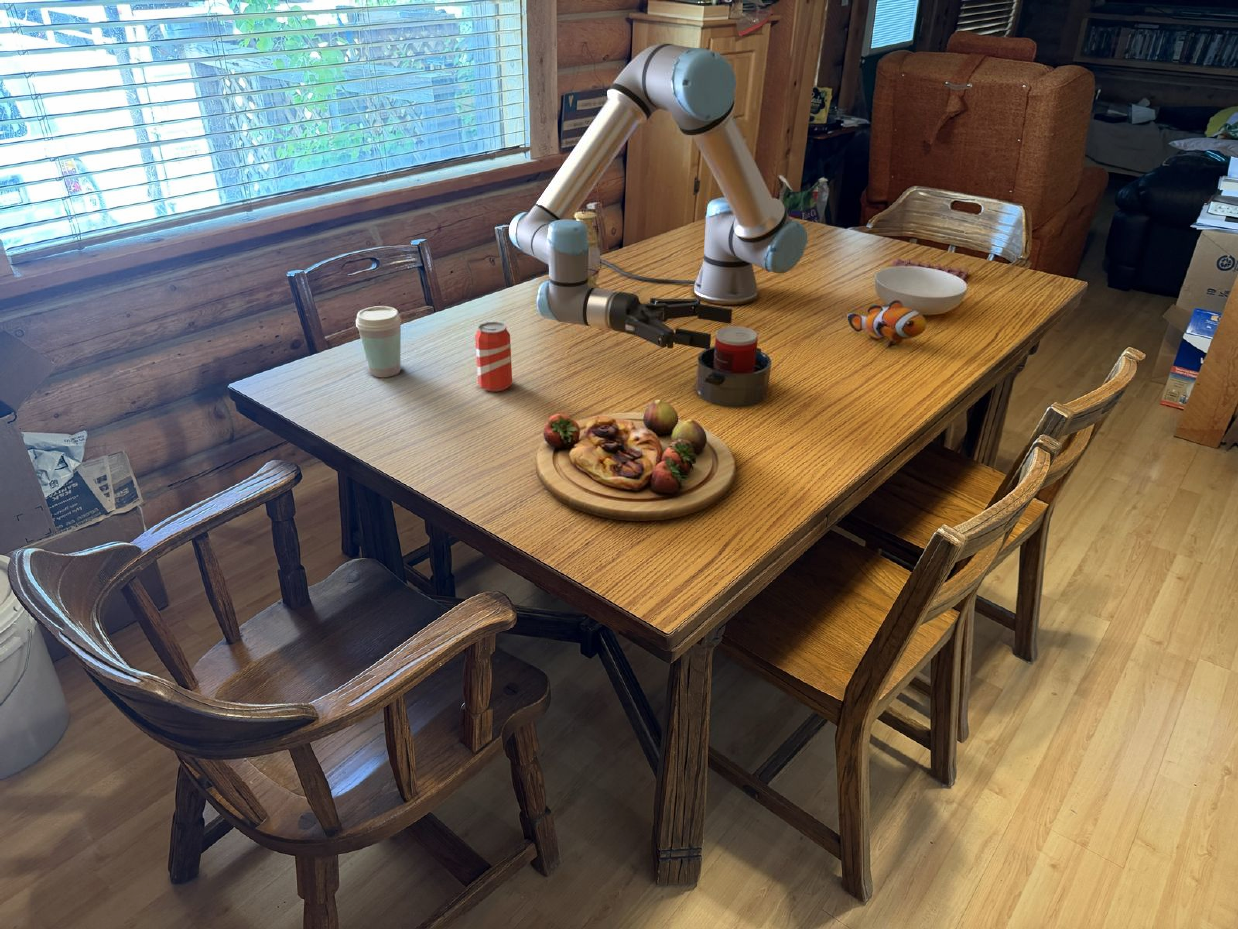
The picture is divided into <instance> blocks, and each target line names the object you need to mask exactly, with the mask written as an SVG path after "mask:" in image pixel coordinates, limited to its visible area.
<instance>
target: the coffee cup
mask: <svg viewBox="0 0 1238 929" xmlns="http://www.w3.org/2000/svg"><path fill="white" fill-rule="evenodd" d="M402 323H403V319H402V316H401V315H400V313H399V311H398V309H396V308H394V307H392V306H386V305H377V306H376V305H375V306H370V307H365V308H362V309H361V310H359V311H358V312H357V314H356V319H355V326H356V328H357V329H358V333H359V338H360V341H361V344H362V348H363V352H364V356H365V359H366V363H367V367H368V371H369V373H370V375H371V376H374V377H377V378H388V377H389V378H390V377H392V376H395V375H398V374H399V373H400V372H401V349H402V348H401V344H402V343H401V342H402V341H401V340H402V339H401V330H402V329H401V326H402Z"/></svg>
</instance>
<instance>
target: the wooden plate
mask: <svg viewBox="0 0 1238 929" xmlns="http://www.w3.org/2000/svg"><path fill="white" fill-rule="evenodd" d="M543 429H544V430H543V439H544V440H543V442H542V443H541V445H540V446H539V448H538V450H537V452H536V456H535V471H536V475H537V478H538V480H539V481H540V484H542V486H543V487H544V488H545V489H546V490H547V491H548V492H549V493H550V494H551V495H552V496H553V497H554V498H555V499H557V500H558V501H560V502H561V503H562V504H565V505H567V506H569V507H571V508H572V509H575V510H577V511H580V512H584V513H586V514H590V515H593V516H597V517H602V518H607V519H612V520H619V521H633V522H634V521H636V522H646V521H648V522H649V521H663V520H668V519H673V518H679V517H683V516H687V515H690V514H693V513H696V512H699V511H702V510H704V509H705V508H708V507H710V506H711V505H713V504H714V503H716V502H717V501H718V500H720V499H721V498H722V497H723V496H724V495H725V494H726V493H727V492H728V491H729V490H730V488H731V486H732V485H733V483H734V480H735V478H736V472H737V465H736V460H735V458H734V455H733V452H732V451H731V448H729V446H728V445H727V444H726V443H725V442H724V441H723V440H722V439H721V438H719V437H718V436H716V434H714V433H712V432H710V431H709V430H707V429H705V428H704V427H702V425H700V424H699V423H698V422H697V421H696V420H693V419H691V418H688V419H686V420H683V419H680V418H679V415H678V413H677V410H676V409H675V407H673V405H671V404H670V403H669V402H667V401H665V400H663V399H655V400H653V401H652V402H651V403H650V404H649V405H648V406H647V407H646V409H645V411H644V412H612V413H603V414H598V415H592V416H591V415H590V416H587V417H584V418H580V419H578V420H574V419H573V418H571V417H570V416H569V415H567V414H561V413H556V414H554V415H552V416H550V417H549V418H548V420H547V423H546V424H545V425H544V428H543Z"/></svg>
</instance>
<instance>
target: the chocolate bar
mask: <svg viewBox="0 0 1238 929" xmlns="http://www.w3.org/2000/svg"><path fill="white" fill-rule="evenodd" d="M898 266H914V267H924V268H931V269H936V270H940V271H944V272H947V273H950V274H953V275H955V276H957V277H959V278H961V279H962V280H963V281H965V280H967V278H968V276H969V270H970V269H969V268H965V270H963V269H962V268H961V267H957V269H955V268H951V265H947V267H944V266H941V264H940V263H937V264H936V265H931V262H929V261H928V262H926V263H921V260H917V261H916V262H913V261H911V259H910V258H907V259H906V260H902V259H901V258H900V257H897V258H895V259H894V260H893V262H892V264H891V265H890V267H898Z"/></svg>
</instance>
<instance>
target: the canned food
mask: <svg viewBox="0 0 1238 929" xmlns="http://www.w3.org/2000/svg"><path fill="white" fill-rule="evenodd" d="M758 335H759V334H758V332H757V331H755V330H754V329H752V328H749V327H745V326H738V325H730V326H724V327H721V328H719V329H718V330H717V331H716V332H715V340H714V346H715V351H714V364H713V369H714V370H717V371H721V372H725V373H733V374H747V373H754V369H755V360H756V351H757V348H758V340H759V338H758Z"/></svg>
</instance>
